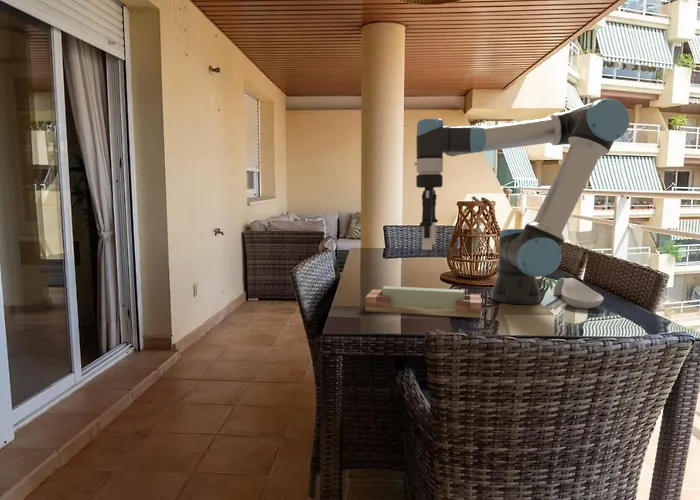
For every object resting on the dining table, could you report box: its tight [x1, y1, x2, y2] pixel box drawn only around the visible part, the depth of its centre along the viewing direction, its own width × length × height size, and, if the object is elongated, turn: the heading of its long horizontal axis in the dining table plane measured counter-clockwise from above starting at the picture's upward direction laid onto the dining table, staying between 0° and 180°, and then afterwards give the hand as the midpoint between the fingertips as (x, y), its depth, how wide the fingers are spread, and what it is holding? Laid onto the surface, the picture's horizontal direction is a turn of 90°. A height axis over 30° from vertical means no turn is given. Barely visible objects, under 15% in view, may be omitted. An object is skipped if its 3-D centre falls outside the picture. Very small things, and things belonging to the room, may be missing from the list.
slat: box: [381, 285, 465, 309], centre depth 153 cm, size 4×24×5 cm, turn 77°
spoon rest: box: [552, 277, 605, 310], centre depth 163 cm, size 24×12×7 cm, turn 179°
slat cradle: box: [364, 288, 482, 319], centre depth 153 cm, size 12×33×4 cm, turn 77°
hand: (428, 246), depth 151 cm, fingers open, 13 cm apart
